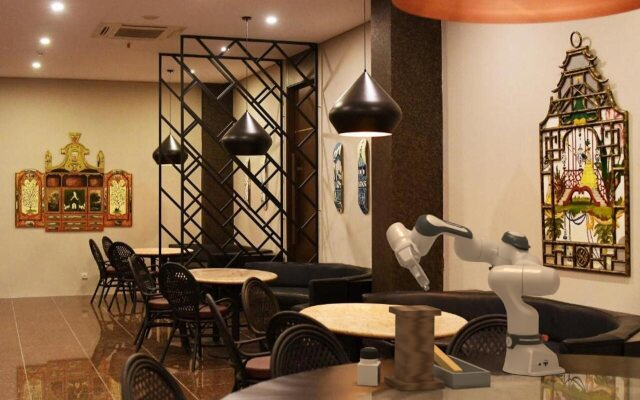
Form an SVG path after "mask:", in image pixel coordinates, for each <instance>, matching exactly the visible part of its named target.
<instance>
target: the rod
mask: <svg viewBox="0 0 640 400" xmlns="http://www.w3.org/2000/svg"><path fill="white" fill-rule="evenodd" d="M448 356H449V355H446V353H444V352H443V350H441V349H440V348H439V347H438V346H437V345H436V344H434V360H435V361H436V362H437V363H438V364H439V365H440V366H441V367H442V368H444V369H446V370H448V371H450V372H453V373H462V369H461V368H460V367H458V366H457V365H456V364H455V363H454V362H453V361H452V360H451V359H450V358H449V357H448Z"/></svg>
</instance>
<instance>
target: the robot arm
mask: <svg viewBox="0 0 640 400" xmlns="http://www.w3.org/2000/svg"><path fill="white" fill-rule="evenodd" d="M385 235H386V239H387V242H388V244H389V245H390V249H392V251H394V255H395V256H394V257H396V259H397V261H398V264H399V265H400V266H401V267H402V268H406V269H408V270H409V271H410V273H411V274H412V275H413V277H414V279H416V281H417V283H418V284H419V285H420V287H421V288H423V290H424V291H428V290H430V286H429V284H430V280H429V279H428V277H427V275H426V273H425V272H424V269H423V268H422V266H421V265H420V261H421V258H423V257H425V256H427V254H428V253H429V252H430V249H431V247H432V246H433V244H434V242H435V241H436V239H437V238H438V237H439V236H441V235H445V236H448V237H452V238H454V240H453V250H454V253H455V255H456V256H457V257H458V259H460V260H462V261H465V262H471V263H472V262H473V263H484V264H485V263H486V264H489V265H491V266H488V270H489V272H488V275H487V283H488V286H489V289H490V290H491V291H492V292H493V293H495V294H496V295H497V296H498V297H499V298H500V300H501V301H502V303H503V305H504V308H505V310H506V317H507V318H506V322H507V331H506V334H505V337H506V338H505V342H506V343H505V345H506V353H505V358H504V364H503V366H502V367H503V368H502V371H503V372H506V373H509V374H513V375H519V376H520V375H521V376H529V377H544V376H550V375H558V374H559V375H560V374H565V373H566V370H565V368H563V367H561V366H560V364H559V359H558V356H557V354H556V353H555V352H553V350H551V349H550V348H549V347H548V346H546V345H545V344H544V343H543V341H546V342H547V341H548V339H549V336H548V334H547V335H546V334H541V333H539V317H540V316H539V312H538V311H537V309H536V308H534V307H533V306H531V305H530V304H527V303H525V301H523V299H522V297H523V296H526V297H527V296H528V297H545V296H546V297H547V296H553V295H555V294H556V293H557V292H558V290H559V289H560V286H561V277H560V275H559V273H558V271H557V270H556V269H555V268H554V267H553V268H552V267H548V266H544V265H543V263H542V261H541V260H540V258H539V257H538V256H537V255H535V254H532V253H530V252H529V251H530V249H531V248H532V247H531V245H530V244H529V240H528V238H527V235H525V234H523V233H522V232H520V231H516V230H509V231H505V232H504V233H503V234H502V236H501V241H500V244H498V242H497V241H496V240H494V239H492V238H491V237H490V238H489V237H487V236H482V235H475V234H473V232H472V230H470V228H468V227H465V226H463V225H460V224H458V223H455V222H452V221H449V220H444V219H442V218H440V217H438V216H435V215H433V214H429V213H427V214H422V215H419V216H418V218H417V220H416V222H415V225H414V226H413V228H412V230H410V229H408V228H406V227H405V225H404V224H403V223H402V222H395V223H393V224H391V225H389V227H388V229H387V231H386V233H385Z"/></svg>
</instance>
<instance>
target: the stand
mask: <svg viewBox="0 0 640 400" xmlns="http://www.w3.org/2000/svg"><path fill="white" fill-rule="evenodd" d="M388 313H390V314H393V315H395V316H394V319H395V320H394V322H395V324H394V375H384V377H383V378H384V379H383V382H384V383H385V382H386V383H385V384H387V385H389V386H391V387H392V386H393V387H392V388H394V387H395V388H394V389H396V388H397V389H396V390H398V391H399V390H400V391H399V392H407V391H408V392H409V391H422V390H423V391H424V390H438V389H440V390H441V389H446V388H445V387H446V386H445V382H443V381H441V380H439V379H437V378H435V377H434V345H435V325H436V324H435V320H436V319H435V317H440V316H442V309H440V308H437V307H433V306H429V305H426V304H425V305H424V304H423V305H420V304H419V305H392V306H391V305H390V306H388Z"/></svg>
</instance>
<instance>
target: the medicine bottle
mask: <svg viewBox="0 0 640 400" xmlns="http://www.w3.org/2000/svg"><path fill="white" fill-rule="evenodd" d="M359 353H360V354H359V355H360V356H359V360H360V361H359V362H358V363H357V366H356V385H357V386H365V387H367V386H368V387H378V386H379V385H380V384H381V381H382V380H381V378H382V377H381V375H382V373H381V371H382V370H381V368H382V367H381V366H382V364H381V360H379V350H378V349H377V348H375V347H363V348H361V349H360V351H359Z"/></svg>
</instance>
